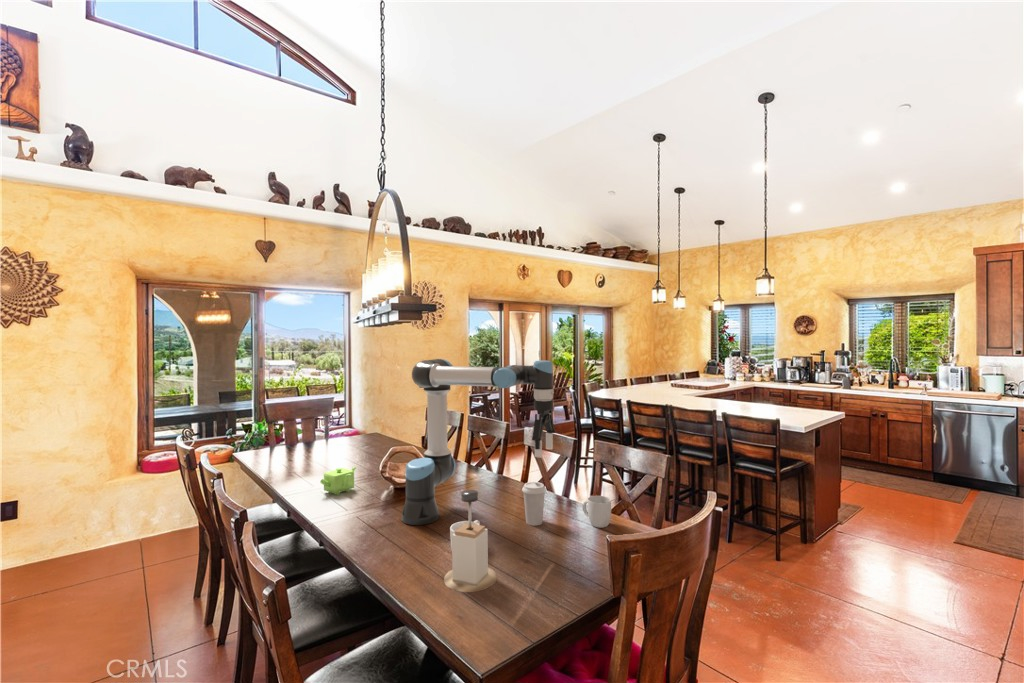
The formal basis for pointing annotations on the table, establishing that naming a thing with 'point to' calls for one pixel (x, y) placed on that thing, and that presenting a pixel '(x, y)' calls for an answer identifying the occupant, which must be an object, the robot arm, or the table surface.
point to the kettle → (338, 480)
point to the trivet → (461, 587)
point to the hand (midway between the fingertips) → (543, 453)
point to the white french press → (470, 554)
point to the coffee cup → (534, 502)
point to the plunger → (469, 503)
